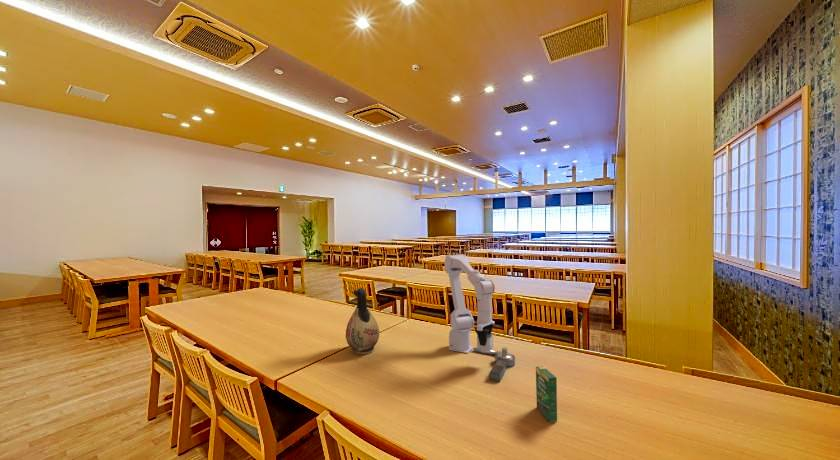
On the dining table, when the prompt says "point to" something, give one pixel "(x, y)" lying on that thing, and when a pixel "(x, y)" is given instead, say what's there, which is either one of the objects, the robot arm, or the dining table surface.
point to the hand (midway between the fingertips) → (484, 342)
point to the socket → (488, 343)
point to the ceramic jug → (362, 326)
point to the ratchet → (501, 364)
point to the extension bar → (486, 351)
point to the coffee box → (546, 393)
